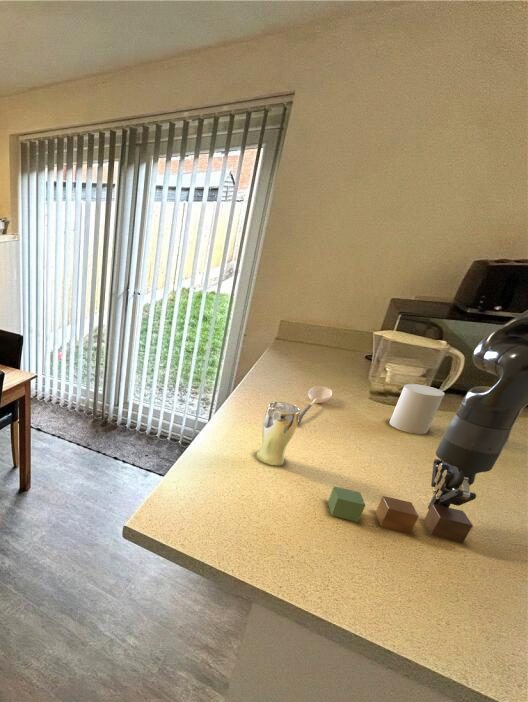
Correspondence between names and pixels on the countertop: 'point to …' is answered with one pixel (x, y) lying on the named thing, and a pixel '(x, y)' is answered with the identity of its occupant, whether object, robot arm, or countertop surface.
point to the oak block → (396, 514)
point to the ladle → (317, 397)
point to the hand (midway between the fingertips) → (435, 512)
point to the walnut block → (447, 523)
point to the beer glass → (277, 431)
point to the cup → (416, 408)
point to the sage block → (346, 504)
